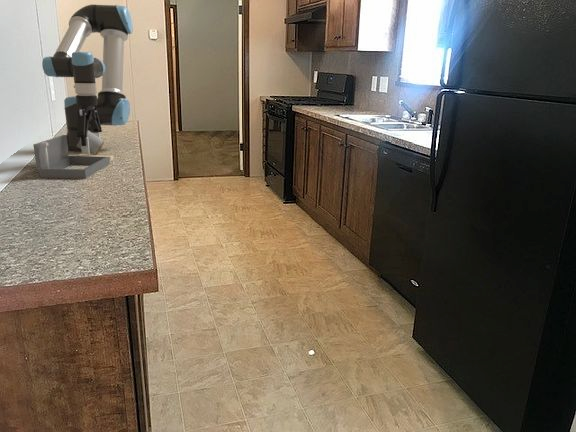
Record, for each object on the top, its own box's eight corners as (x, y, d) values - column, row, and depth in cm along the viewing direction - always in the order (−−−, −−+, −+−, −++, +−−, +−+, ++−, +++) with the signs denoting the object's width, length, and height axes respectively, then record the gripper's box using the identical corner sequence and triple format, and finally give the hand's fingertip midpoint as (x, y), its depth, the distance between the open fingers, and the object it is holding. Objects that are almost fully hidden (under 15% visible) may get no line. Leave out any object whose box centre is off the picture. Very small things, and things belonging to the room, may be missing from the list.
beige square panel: (81, 156, 193) (81, 153, 193) (116, 157, 194) (115, 154, 194) (67, 163, 180) (67, 160, 180) (104, 163, 181) (104, 160, 180)
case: (67, 163, 179) (64, 133, 176) (110, 164, 180) (107, 134, 176) (37, 177, 156) (32, 143, 153) (85, 178, 157) (82, 144, 153)
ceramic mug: (94, 160, 184) (102, 145, 181) (74, 149, 181) (81, 135, 177) (101, 146, 193) (109, 132, 189) (82, 136, 189) (89, 122, 186)
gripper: (88, 92, 191) (93, 146, 197) (62, 96, 168) (69, 156, 175) (106, 93, 191) (111, 146, 198) (84, 96, 168) (90, 157, 175)
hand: (91, 151), depth 186 cm, fingers closed on ceramic mug, 12 cm apart
